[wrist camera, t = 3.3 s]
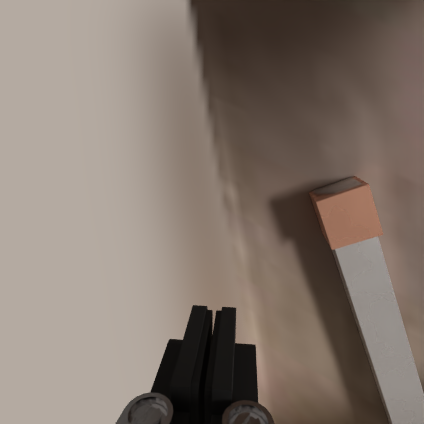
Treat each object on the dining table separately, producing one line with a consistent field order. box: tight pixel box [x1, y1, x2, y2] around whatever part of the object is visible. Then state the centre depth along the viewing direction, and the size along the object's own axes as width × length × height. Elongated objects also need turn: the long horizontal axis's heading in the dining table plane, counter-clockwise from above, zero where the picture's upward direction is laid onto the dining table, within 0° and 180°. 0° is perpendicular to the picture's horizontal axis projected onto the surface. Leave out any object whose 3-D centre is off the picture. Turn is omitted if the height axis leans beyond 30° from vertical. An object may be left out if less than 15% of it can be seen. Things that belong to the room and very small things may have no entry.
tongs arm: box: [309, 176, 424, 424], centre depth 20 cm, size 20×3×2 cm, turn 22°
